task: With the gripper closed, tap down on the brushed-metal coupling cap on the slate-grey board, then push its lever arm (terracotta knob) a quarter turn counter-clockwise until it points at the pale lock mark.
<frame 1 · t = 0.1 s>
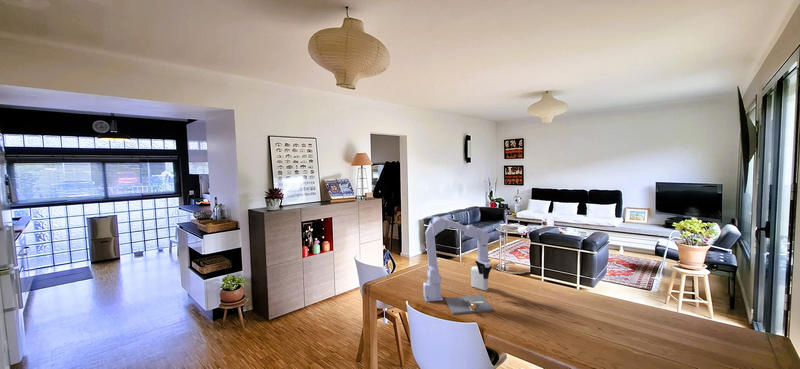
hand: (483, 276, 173), 10 cm above the table, fingers open, 7 cm apart
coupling: (470, 301, 157), point 4 cm above the table, hinge at 0.0°
photo printer: (479, 288, 182), on the table, touching gripper
lock plate: (468, 305, 161), on the table
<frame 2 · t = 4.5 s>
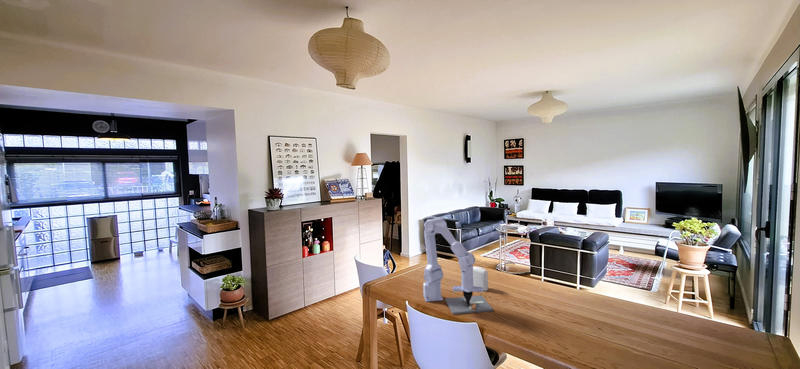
hand: (468, 305, 155), 3 cm above the table, fingers closed, pressing on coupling
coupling: (470, 301, 157), point 4 cm above the table, hinge at 0.2°, touching gripper
photo printer: (479, 288, 182), on the table
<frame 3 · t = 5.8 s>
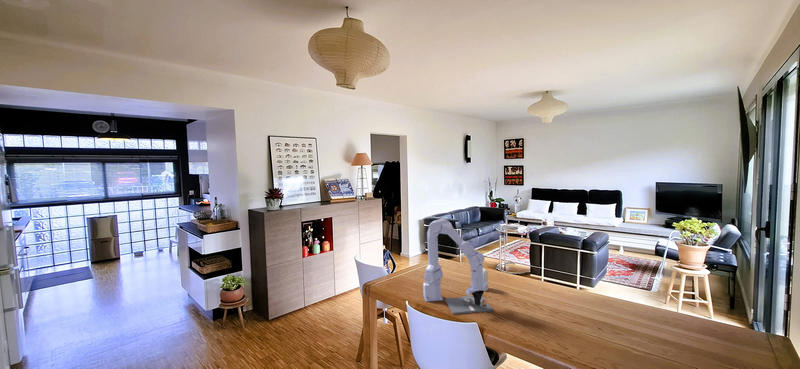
hand: (477, 304, 155), 3 cm above the table, fingers closed, pressing on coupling
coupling: (474, 300, 158), point 3 cm above the table, hinge at 43.9°, touching gripper
everything else where it was.
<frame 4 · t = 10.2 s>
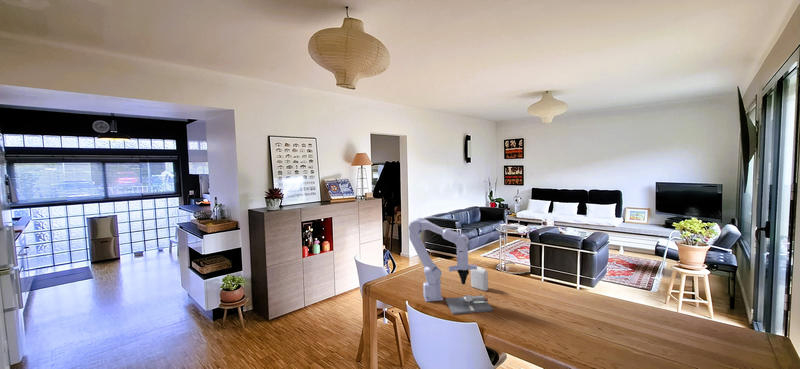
hand: (463, 283, 164), 10 cm above the table, fingers closed
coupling: (475, 298, 161), point 4 cm above the table, hinge at 84.8°
everything else where it was.
at the end: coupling at +85° (first picture: +0°) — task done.
